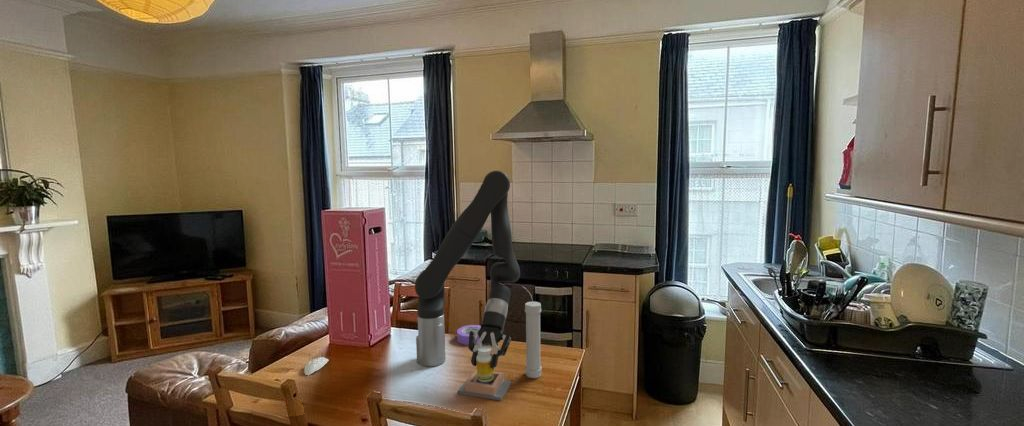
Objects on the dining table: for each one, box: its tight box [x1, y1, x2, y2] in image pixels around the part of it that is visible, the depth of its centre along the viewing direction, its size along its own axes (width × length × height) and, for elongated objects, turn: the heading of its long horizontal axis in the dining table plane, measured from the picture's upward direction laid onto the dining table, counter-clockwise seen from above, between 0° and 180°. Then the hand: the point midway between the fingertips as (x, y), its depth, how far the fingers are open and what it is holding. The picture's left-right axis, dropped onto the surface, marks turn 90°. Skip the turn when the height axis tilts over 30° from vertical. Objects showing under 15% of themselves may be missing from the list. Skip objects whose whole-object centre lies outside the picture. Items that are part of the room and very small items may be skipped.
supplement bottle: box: [475, 346, 495, 382], centre depth 126 cm, size 5×5×10 cm
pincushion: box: [303, 352, 329, 376], centre depth 142 cm, size 12×6×6 cm, turn 176°
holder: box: [457, 368, 512, 402], centre depth 127 cm, size 14×10×4 cm
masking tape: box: [456, 324, 481, 346], centre depth 165 cm, size 12×12×4 cm
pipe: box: [521, 286, 543, 379], centre depth 134 cm, size 6×6×30 cm
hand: (483, 366), depth 125 cm, fingers closed on supplement bottle, 5 cm apart
